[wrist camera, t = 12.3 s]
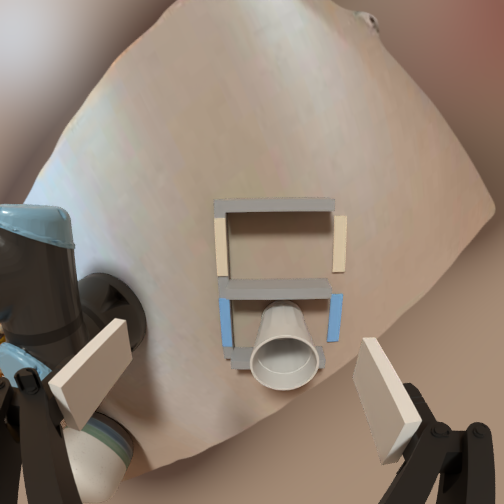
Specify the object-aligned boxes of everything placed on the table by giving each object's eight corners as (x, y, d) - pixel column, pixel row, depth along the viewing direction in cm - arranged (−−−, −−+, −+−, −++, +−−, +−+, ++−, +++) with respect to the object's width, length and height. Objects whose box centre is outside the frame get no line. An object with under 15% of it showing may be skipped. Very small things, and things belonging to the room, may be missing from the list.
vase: (147, 456, 55) (116, 527, 31) (93, 441, 56) (56, 501, 33) (127, 412, 51) (80, 492, 27) (69, 397, 52) (19, 459, 29)
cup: (315, 331, 43) (327, 378, 31) (267, 348, 44) (265, 397, 32) (298, 287, 41) (307, 325, 30) (247, 305, 43) (238, 348, 31)
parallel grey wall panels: (225, 354, 45) (221, 368, 41) (215, 199, 39) (209, 201, 35) (336, 353, 44) (340, 367, 40) (346, 197, 38) (354, 199, 34)
